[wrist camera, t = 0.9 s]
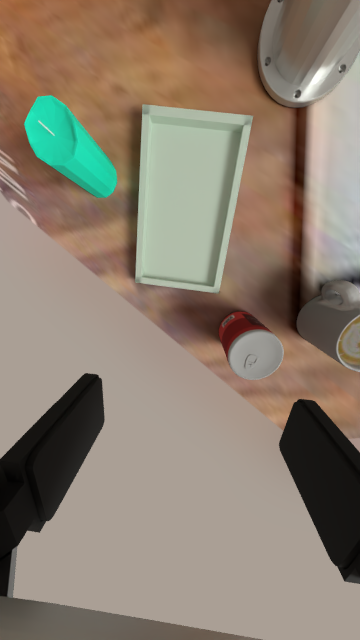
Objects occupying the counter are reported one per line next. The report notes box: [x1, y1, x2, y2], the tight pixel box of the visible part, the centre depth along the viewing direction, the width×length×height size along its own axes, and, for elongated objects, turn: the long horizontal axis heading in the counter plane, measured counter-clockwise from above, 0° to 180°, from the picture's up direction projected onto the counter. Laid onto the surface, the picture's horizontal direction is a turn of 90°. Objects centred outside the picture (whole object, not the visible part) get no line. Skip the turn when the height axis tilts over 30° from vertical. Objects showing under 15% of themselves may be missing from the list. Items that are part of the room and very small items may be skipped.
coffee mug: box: [297, 280, 360, 372], centre depth 28 cm, size 13×10×10 cm
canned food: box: [219, 312, 284, 380], centre depth 30 cm, size 8×8×11 cm
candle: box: [24, 95, 117, 198], centre depth 23 cm, size 6×6×12 cm
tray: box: [135, 104, 253, 293], centre depth 29 cm, size 24×15×2 cm, turn 173°
